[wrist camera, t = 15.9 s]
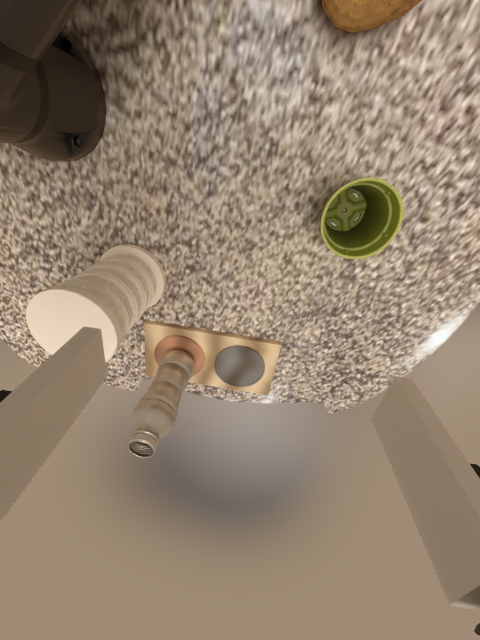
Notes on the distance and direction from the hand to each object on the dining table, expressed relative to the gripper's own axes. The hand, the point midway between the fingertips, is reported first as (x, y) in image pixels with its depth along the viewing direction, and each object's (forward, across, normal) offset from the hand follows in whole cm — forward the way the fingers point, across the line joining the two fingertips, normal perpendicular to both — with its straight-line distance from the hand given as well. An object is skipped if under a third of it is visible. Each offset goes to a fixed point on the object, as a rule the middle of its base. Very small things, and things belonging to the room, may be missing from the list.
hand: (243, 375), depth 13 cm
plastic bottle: (+33, -11, -27) cm, 44 cm away
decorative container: (+35, -20, -12) cm, 42 cm away
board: (+35, -5, -27) cm, 44 cm away
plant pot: (+35, +12, +4) cm, 37 cm away
